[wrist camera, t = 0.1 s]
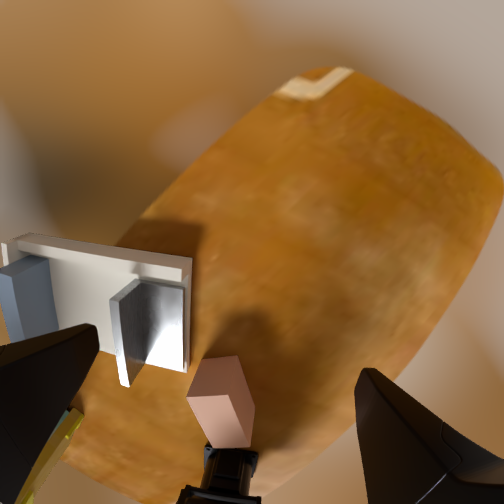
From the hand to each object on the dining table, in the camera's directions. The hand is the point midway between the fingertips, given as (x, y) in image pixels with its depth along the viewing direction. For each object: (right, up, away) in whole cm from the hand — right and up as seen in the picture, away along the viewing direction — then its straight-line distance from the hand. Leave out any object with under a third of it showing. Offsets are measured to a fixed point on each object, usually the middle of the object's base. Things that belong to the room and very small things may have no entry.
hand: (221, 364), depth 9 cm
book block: (-1, -9, +18) cm, 20 cm away
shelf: (-14, -1, +17) cm, 22 cm away
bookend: (-7, -3, +15) cm, 17 cm away
